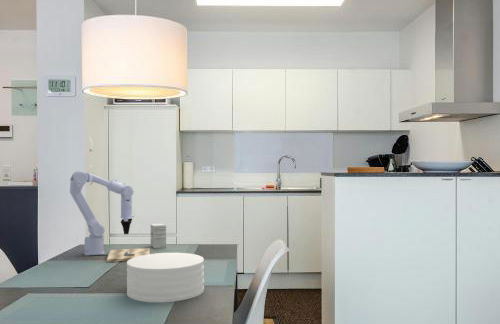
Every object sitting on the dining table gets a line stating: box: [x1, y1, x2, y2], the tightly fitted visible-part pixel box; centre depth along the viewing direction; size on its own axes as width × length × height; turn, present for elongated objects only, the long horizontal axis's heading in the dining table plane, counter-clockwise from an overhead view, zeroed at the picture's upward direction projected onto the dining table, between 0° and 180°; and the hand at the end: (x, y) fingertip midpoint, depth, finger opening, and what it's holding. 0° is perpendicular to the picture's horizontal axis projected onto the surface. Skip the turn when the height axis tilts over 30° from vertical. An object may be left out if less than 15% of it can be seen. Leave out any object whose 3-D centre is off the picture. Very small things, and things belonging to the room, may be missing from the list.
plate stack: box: [126, 252, 205, 303], centre depth 167 cm, size 28×28×12 cm
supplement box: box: [150, 223, 167, 249], centre depth 255 cm, size 7×7×13 cm
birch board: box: [106, 247, 151, 263], centre depth 229 cm, size 20×24×2 cm
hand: (126, 233), depth 244 cm, fingers open, 7 cm apart
